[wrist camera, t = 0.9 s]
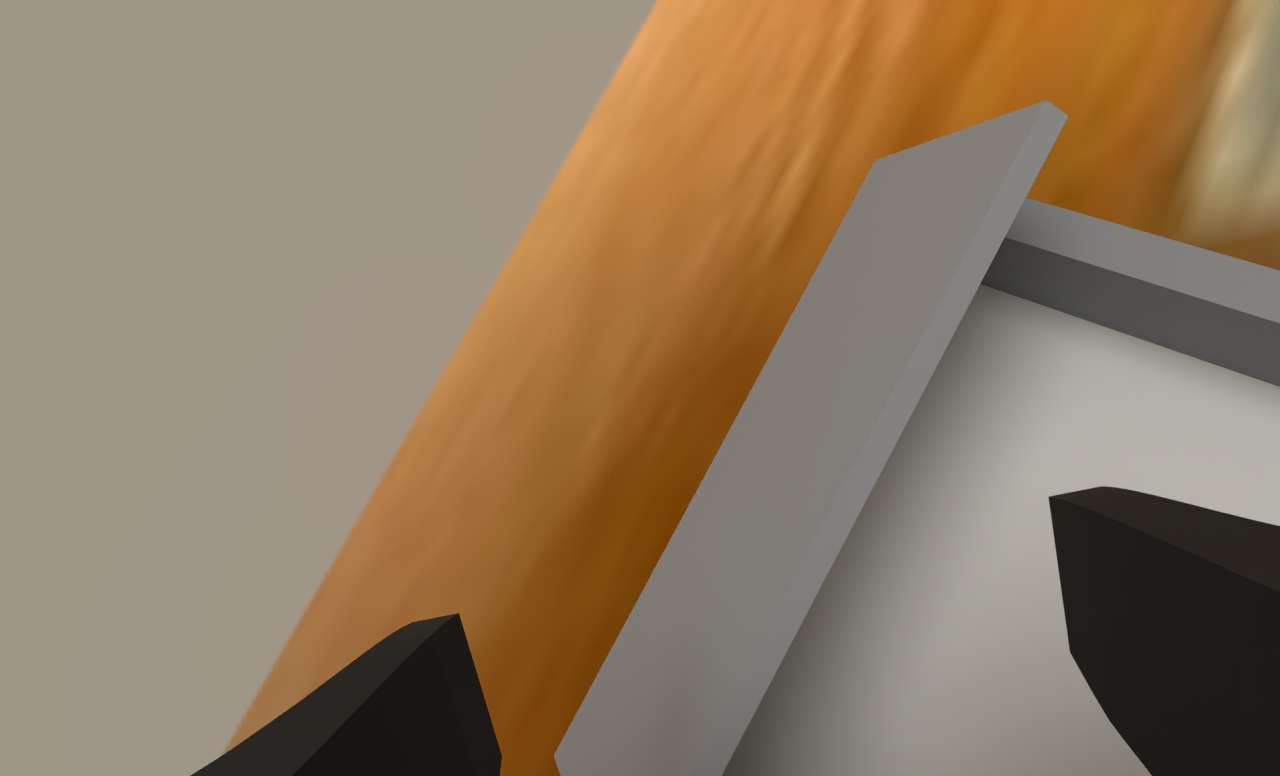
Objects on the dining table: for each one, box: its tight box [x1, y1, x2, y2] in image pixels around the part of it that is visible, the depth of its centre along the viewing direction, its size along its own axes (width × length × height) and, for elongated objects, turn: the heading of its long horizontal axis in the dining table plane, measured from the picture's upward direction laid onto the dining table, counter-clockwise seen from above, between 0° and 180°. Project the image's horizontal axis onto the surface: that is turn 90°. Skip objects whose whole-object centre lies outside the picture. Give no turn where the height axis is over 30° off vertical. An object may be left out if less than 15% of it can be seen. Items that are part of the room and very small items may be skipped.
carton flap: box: [554, 100, 1068, 776], centre depth 19 cm, size 6×15×1 cm
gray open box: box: [722, 198, 1280, 776], centre depth 20 cm, size 14×16×4 cm
